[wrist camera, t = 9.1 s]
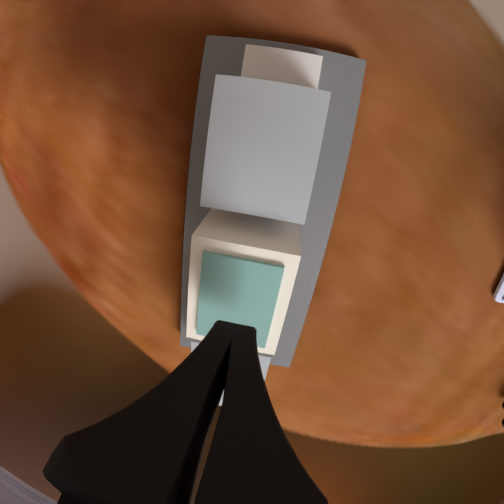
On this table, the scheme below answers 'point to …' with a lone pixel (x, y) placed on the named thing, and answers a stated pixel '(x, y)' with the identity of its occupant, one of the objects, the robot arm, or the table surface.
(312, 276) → the board
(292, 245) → the cream module
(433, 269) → the table surface
